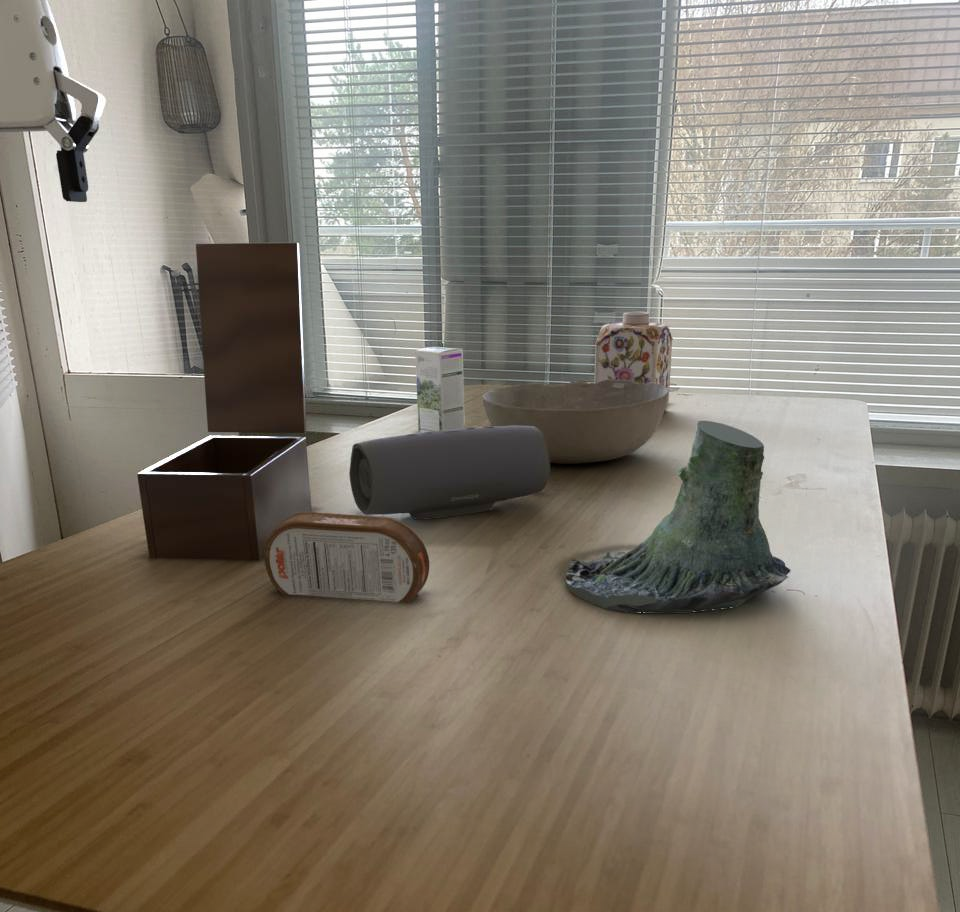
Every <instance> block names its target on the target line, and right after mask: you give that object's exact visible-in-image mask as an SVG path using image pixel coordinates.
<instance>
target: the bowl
mask: <svg viewBox="0 0 960 912" xmlns="http://www.w3.org/2000/svg"><path fill="white" fill-rule="evenodd" d="M668 394H669V395H670V389H669V390H668V388H666V387H665V386H664V385H662V384H658V383H652V382H650V383H646V384H645V383H640V382H639V383H637V382H634V381H631V380H611V379H606V380H602V381H600V382H598V383H596V384H595V383H594V382H590V383H588V382H587V381H585V380H576V381H574V380H573V381H569V382H568V383H563V384H549V383H547V384H544V383H527V384H525V383H523V384H514V385H509V386H503V387H500V388H496V389H490V390H487V391H486V392H484V393H483V394H482V396H481V399H482V405H483V407H484V410H485V414H486V416H487V419H488V422H489V424H490V426H492V427H494V426H534V427H536V428H538V429H539V430H540V431H541V432H542V434H543V436H544V439H545V442H546V446H547V450H548V455H549V461H550V464H559V465H561V464H565V465H566V464H570V465H571V464H589V463H598V462H606V461H612V460H616V459H620V458H622V457H625V456H628V455H630V454H632V453H634V452H636V451H638V449H640V448H642V447H643V446H644V445H645V444H646V443H647V442H649V440H650V439H651V438H652V437H653V435H654V434H655V433H656V432H657V430H658V428H659V425H660V424H661V421H662V419H663V417H664V413H665V411H664V410H665V408H666V404H667V399H668Z"/></svg>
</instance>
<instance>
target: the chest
mask: <svg viewBox="0 0 960 912" xmlns="http://www.w3.org/2000/svg"><path fill="white" fill-rule="evenodd" d="M308 462H309V460H308V447H307V437H306V436H259V435H257V436H255V435H254V436H253V435H250V436H249V435H247V436H245V435H241V436H240V435H209V436H206V437H205V438H203V439H201V440H199V441H197V442H194V443H193V444H191V445H190V446H188V447H186V448H184V449H182V450H180V451H178V452H175V453H174V454H172V455H170V456H169V457H166V458H164V459H162V460H160V461H158V462H156V463H154V464H153V465H150V466H149V467H147V468H145V469H144V470H141V471H140V472H137V473H136V476H137V477H136V478H137V483H138V490H139V498H140V503H141V511H142V516H143V517H142V518H143V524H144V530H145V538H146V545H147V552H148V557H149V559H179V560H180V559H181V560H182V559H183V560H222V561H223V560H224V561H261V560H262V559H264V548H265V544H266V542H267V540H268V538H269V536H270V535H271V533H272V532H273V531H274V530H275V529H276V528H277V527H278V526H279V525H280V523H281V522H282V521H283V520H285V519H286V518H288V517H289V516H291V515H293V514H296V513H300V512H313V510H312V498H311V484H310V473H309V463H308Z"/></svg>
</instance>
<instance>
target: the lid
mask: <svg viewBox="0 0 960 912" xmlns="http://www.w3.org/2000/svg"><path fill="white" fill-rule="evenodd" d="M195 256H196V270H197V271H196V272H197V273H196V274H197V286H198V302H199V303H198V304H199V318H200V335H201V347H202V350H201V351H202V363H203V379H204V394H205V407H206V408H205V409H206V424H207V425H206V426H207V433H250V434H251V433H254V434H257V433H258V434H259V433H260V434H261V433H262V434H267V433H268V434H306V433H307V413H306V412H307V411H306V385H305V363H304V361H305V360H304V339H303V338H304V337H303V313H302V312H303V311H302V309H303V308H302V287H301V264H300V263H301V262H300V261H301V260H300V259H301V258H300V243H298V242H229V243H228V242H227V243H226V242H223V243H221V242H219V243H214V242H213V243H212V242H211V243H210V242H209V243H207V242H206V243H195Z"/></svg>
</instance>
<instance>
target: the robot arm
mask: <svg viewBox="0 0 960 912" xmlns="http://www.w3.org/2000/svg"><path fill="white" fill-rule="evenodd" d="M75 99H76V100H77V101H79V102H80V104H81V109H80V116H79V117H77V110H76V103H75ZM105 105H106V98H105V96H104V95H103V94H102V93H100V92H98V91H96V90H95V89H93V88H91V87H89V86H88V85H85V84H84V83H82V82H80V81H78V80H77V79H74V78H72V77H70V73H69V69H68V64H67V59H66V56H65V52H64V48H63V44H62V41H61V37H60V34H59V31H58V27H57V24H56V21H55V18H54V15H53V12H52V9H51V6H50V4H49V1H48V0H0V133H25V132H26V133H27V132H30V133H31V132H32V133H33V132H48V133H49V134H50V136H51V137H52V138H53V139H54V140H55V141H56V142H57V144H58V145H59V146H60V149H59V150H56V154H55V158H56V162H57V164H56V165H57V170H58V177H59V182H60V189H61V195H62V198H63V200H64V201H66V202H73V203H86V202H87V201H88V195H87V192H88V191H89V181H88V175H87V174H88V173H87V168H86V161H85V153H87V152H88V150H89V144H90V143H91V141H92V140H93V138H94V137H95V136H96V135H97V133H98V131H99V129H100V125H99V122H100V121H101V119H102V115H103V111H104V108H105Z"/></svg>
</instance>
